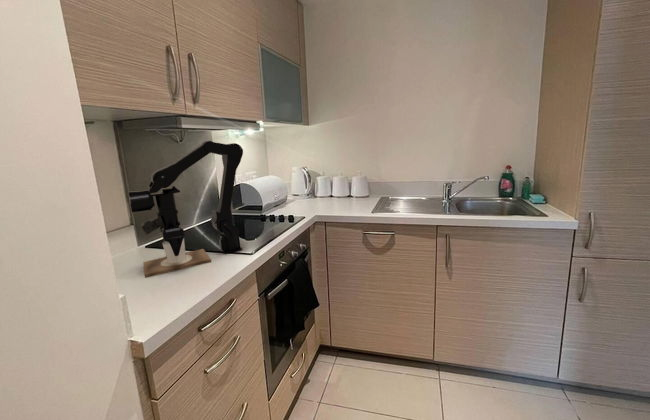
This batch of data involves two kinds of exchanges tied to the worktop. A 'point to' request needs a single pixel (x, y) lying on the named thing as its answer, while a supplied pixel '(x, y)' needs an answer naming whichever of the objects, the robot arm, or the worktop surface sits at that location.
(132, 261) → the worktop surface
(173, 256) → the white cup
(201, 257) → the serving board
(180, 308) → the worktop surface
